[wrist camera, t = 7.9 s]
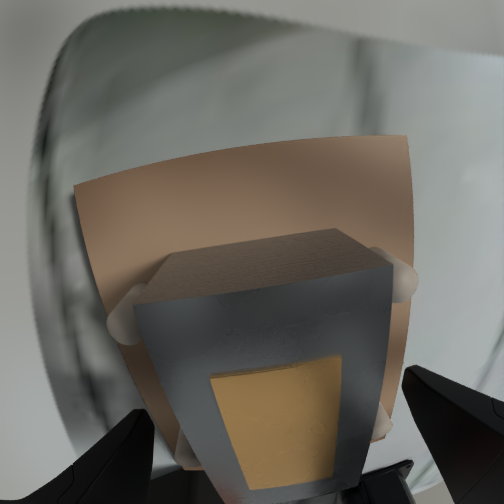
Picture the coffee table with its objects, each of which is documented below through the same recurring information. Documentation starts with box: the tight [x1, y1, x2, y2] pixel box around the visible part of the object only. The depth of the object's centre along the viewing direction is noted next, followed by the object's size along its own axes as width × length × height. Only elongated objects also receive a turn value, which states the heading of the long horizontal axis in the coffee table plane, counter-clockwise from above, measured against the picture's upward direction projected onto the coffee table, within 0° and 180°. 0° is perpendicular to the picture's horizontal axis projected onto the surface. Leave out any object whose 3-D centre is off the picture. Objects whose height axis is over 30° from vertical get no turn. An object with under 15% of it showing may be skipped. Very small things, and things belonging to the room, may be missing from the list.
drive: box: [132, 228, 394, 504], centre depth 9 cm, size 10×6×4 cm, turn 8°
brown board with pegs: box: [73, 135, 418, 470], centre depth 10 cm, size 16×12×3 cm
